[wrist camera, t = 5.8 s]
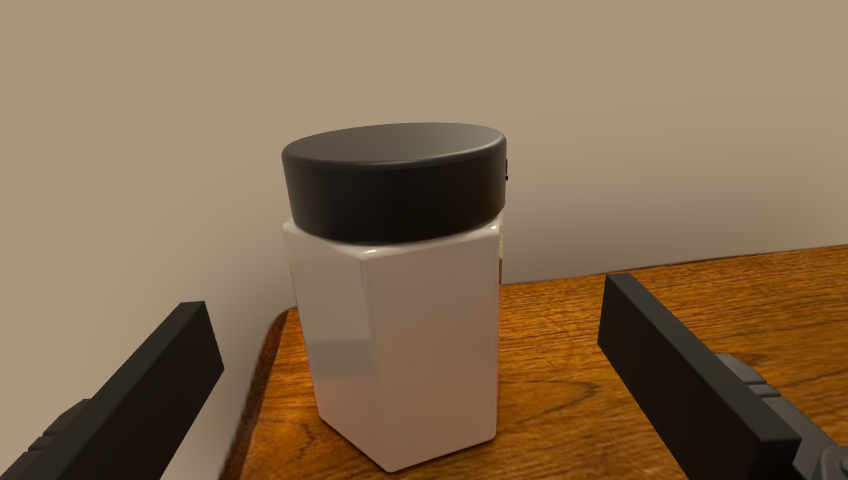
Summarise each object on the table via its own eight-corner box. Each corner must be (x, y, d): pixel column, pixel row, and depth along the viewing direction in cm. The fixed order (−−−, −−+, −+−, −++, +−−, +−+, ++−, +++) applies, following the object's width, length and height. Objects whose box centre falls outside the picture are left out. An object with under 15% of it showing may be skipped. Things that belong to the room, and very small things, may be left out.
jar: (542, 385, 20) (560, 128, 16) (430, 516, 15) (406, 178, 10) (406, 321, 26) (389, 118, 21) (289, 398, 20) (231, 146, 16)
